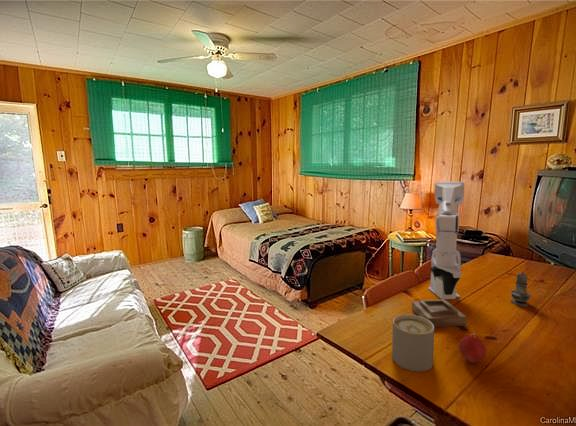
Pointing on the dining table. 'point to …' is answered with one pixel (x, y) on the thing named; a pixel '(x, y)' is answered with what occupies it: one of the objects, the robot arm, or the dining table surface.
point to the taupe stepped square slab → (439, 313)
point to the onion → (472, 348)
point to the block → (440, 289)
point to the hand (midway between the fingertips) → (444, 291)
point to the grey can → (413, 342)
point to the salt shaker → (520, 291)
